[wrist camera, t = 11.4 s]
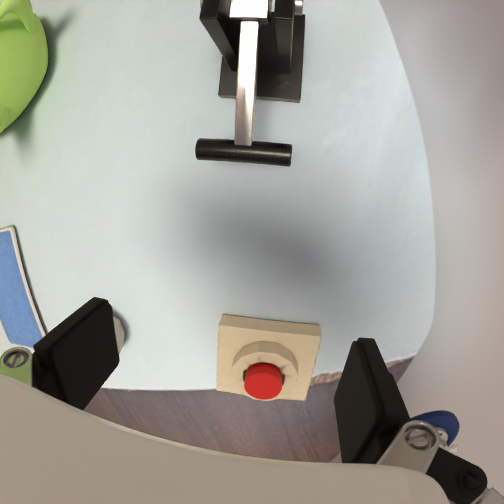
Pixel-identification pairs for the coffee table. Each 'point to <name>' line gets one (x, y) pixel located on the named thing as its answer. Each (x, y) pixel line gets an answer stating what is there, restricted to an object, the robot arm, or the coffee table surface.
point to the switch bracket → (261, 49)
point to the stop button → (263, 381)
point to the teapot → (20, 58)
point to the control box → (266, 353)
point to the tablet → (16, 295)
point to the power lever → (246, 95)
